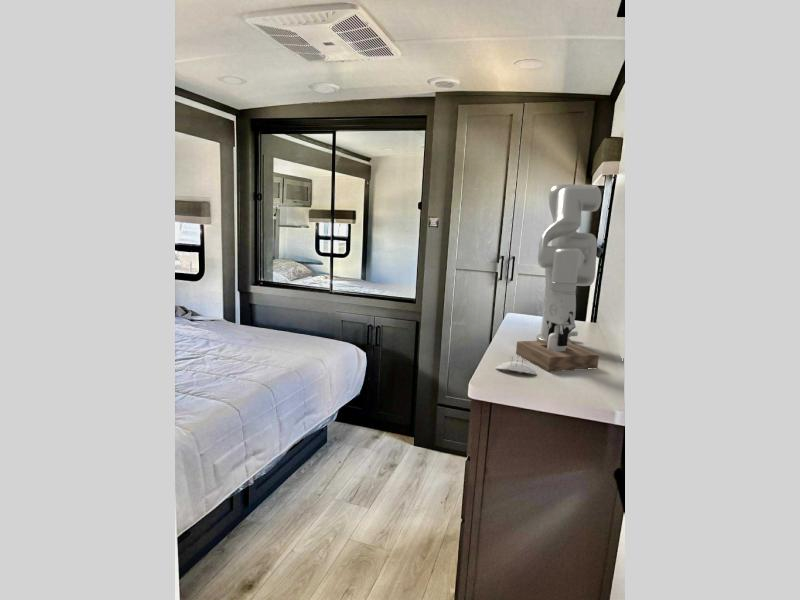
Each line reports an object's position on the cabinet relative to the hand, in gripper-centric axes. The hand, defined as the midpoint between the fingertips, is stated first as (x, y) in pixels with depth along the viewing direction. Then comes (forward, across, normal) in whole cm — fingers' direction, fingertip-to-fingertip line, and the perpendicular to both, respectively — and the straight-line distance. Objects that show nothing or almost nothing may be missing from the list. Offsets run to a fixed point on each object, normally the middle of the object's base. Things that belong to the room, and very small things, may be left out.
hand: (557, 343), depth 144 cm
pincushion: (+7, +7, -19) cm, 21 cm away
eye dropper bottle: (+5, 0, 0) cm, 5 cm away
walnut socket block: (+6, 0, 0) cm, 6 cm away
